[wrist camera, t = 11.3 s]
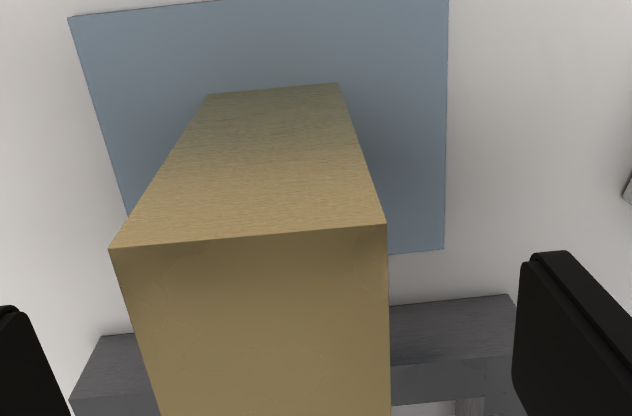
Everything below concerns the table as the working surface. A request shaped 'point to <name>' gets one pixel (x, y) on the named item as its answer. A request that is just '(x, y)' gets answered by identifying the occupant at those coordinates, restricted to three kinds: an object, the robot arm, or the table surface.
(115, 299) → the table surface
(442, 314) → the cinder block
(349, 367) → the brass plug
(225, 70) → the rubber pad
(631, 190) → the light bulb box
